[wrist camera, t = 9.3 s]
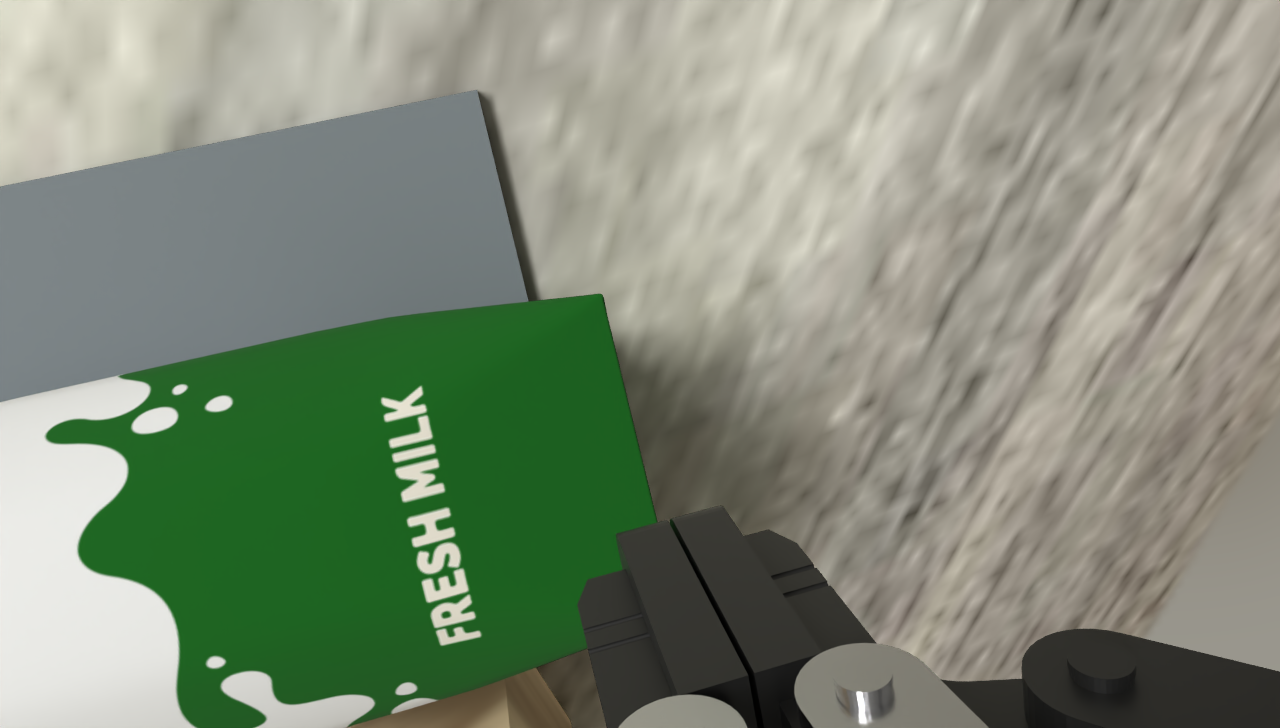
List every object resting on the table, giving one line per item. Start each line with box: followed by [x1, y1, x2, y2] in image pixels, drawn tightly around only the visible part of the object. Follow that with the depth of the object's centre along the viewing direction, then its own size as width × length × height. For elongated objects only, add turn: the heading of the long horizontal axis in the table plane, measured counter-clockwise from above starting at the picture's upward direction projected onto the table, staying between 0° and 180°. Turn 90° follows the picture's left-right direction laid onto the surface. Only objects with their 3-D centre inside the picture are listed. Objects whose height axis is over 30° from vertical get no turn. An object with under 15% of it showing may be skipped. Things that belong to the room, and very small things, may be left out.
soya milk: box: [0, 294, 657, 728], centre depth 20 cm, size 9×9×20 cm
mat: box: [0, 90, 529, 402], centre depth 24 cm, size 16×15×1 cm
